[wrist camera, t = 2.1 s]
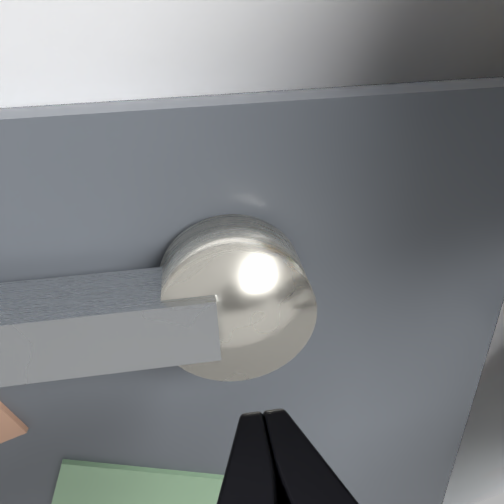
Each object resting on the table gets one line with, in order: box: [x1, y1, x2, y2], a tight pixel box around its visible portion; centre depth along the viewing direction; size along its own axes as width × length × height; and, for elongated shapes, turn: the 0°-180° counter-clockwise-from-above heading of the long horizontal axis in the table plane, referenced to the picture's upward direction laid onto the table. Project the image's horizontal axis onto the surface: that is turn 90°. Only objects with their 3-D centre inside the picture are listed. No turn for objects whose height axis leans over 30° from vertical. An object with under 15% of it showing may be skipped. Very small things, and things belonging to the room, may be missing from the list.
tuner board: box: [0, 77, 504, 504], centre depth 16 cm, size 20×18×1 cm
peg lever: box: [0, 214, 317, 387], centre depth 12 cm, size 13×4×2 cm, turn 92°
